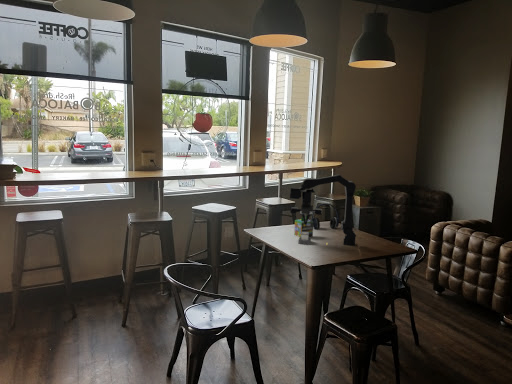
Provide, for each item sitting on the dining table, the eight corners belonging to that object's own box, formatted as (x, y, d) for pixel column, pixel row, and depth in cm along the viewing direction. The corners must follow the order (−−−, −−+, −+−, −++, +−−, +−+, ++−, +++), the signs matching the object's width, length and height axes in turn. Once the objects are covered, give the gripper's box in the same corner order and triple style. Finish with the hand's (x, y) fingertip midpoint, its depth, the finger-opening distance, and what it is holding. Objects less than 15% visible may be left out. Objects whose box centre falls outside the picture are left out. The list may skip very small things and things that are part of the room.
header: (310, 241, 244) (310, 237, 244) (309, 244, 236) (310, 241, 235) (299, 240, 245) (299, 236, 245) (298, 244, 237) (298, 240, 237)
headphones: (313, 229, 278) (314, 204, 276) (309, 227, 285) (311, 202, 282) (339, 229, 282) (341, 204, 279) (335, 227, 289) (337, 202, 286)
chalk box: (305, 235, 263) (306, 213, 261) (313, 238, 255) (314, 216, 253) (293, 236, 259) (294, 214, 257) (301, 240, 251) (301, 217, 249)
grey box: (308, 241, 243) (308, 231, 242) (307, 243, 238) (308, 233, 237) (301, 241, 243) (302, 231, 243) (301, 243, 239) (301, 233, 238)
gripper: (289, 200, 231) (288, 226, 233) (321, 202, 227) (320, 228, 229) (291, 197, 242) (290, 222, 244) (322, 199, 238) (321, 224, 240)
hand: (305, 224), depth 239 cm, fingers closed
